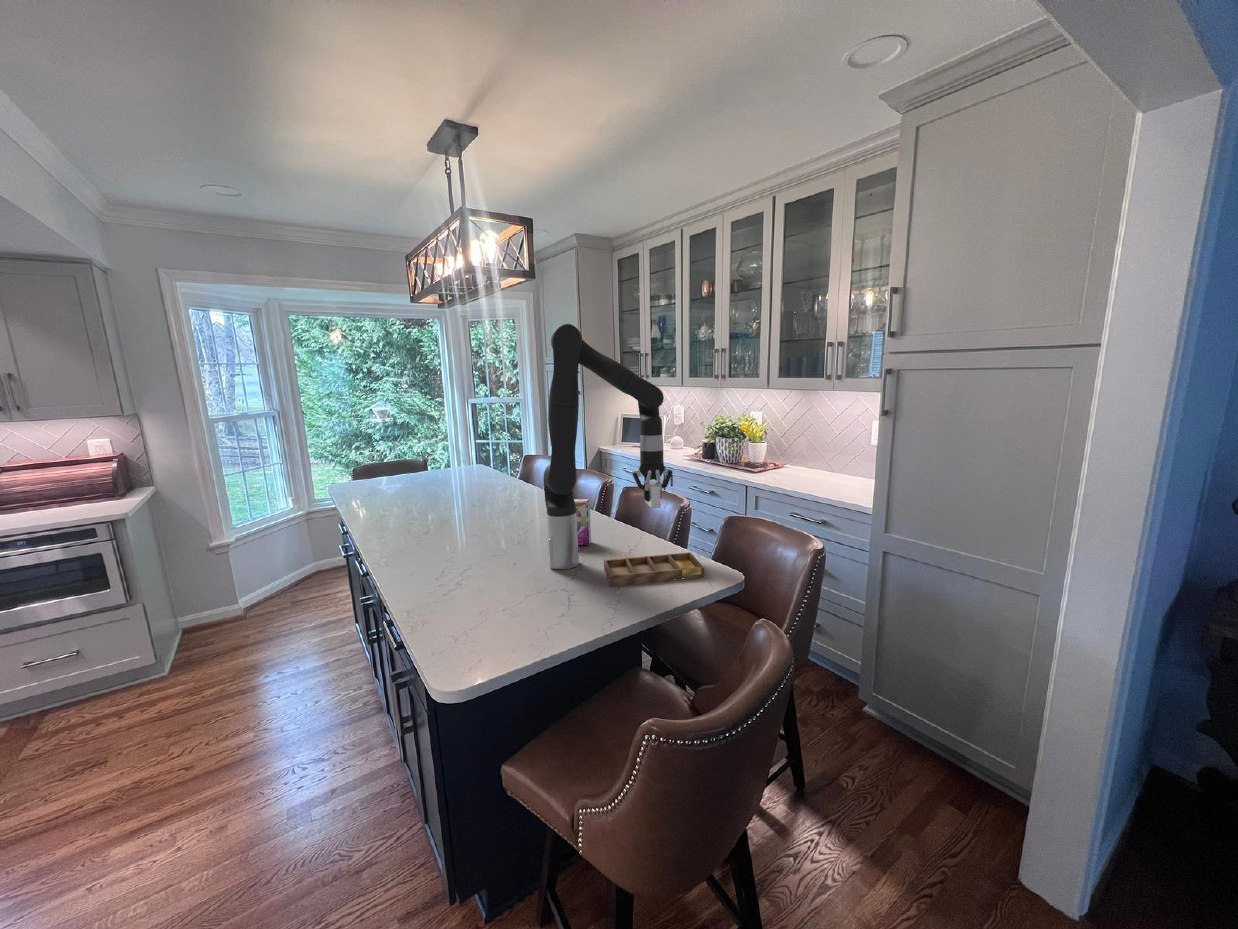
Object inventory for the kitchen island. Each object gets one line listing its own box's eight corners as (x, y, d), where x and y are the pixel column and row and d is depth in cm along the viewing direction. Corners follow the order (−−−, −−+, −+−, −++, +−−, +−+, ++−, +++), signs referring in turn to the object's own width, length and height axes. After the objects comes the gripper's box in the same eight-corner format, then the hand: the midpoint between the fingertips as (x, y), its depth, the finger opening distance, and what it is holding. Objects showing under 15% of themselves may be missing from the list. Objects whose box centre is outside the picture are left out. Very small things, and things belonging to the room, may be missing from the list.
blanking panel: (651, 508, 158) (651, 486, 157) (645, 501, 168) (644, 480, 167) (660, 507, 159) (660, 486, 158) (653, 500, 168) (653, 480, 167)
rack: (610, 586, 142) (609, 576, 141) (604, 569, 155) (603, 560, 155) (704, 577, 146) (704, 567, 145) (690, 561, 160) (690, 552, 159)
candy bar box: (559, 546, 179) (556, 502, 176) (562, 542, 184) (559, 499, 181) (589, 546, 178) (587, 501, 175) (591, 542, 183) (589, 498, 180)
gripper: (632, 451, 156) (633, 504, 158) (675, 449, 158) (676, 502, 160) (628, 448, 163) (629, 499, 166) (669, 446, 165) (670, 496, 168)
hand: (652, 500), depth 163 cm, fingers closed on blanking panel, 3 cm apart
